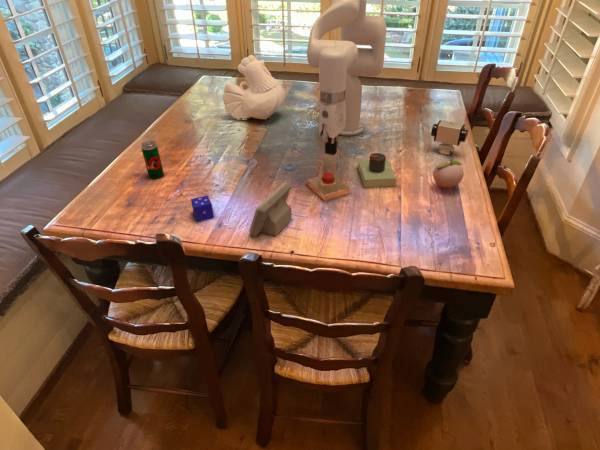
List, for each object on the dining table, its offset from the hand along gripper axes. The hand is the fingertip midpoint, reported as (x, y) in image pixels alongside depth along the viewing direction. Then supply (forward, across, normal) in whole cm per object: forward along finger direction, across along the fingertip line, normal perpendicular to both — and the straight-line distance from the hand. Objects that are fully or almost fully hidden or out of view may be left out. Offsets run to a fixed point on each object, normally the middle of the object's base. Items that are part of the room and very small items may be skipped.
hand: (330, 153), depth 133 cm
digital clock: (+12, -26, +7) cm, 29 cm away
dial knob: (+9, +13, -11) cm, 19 cm away
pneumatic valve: (+13, +40, -28) cm, 51 cm away
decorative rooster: (+13, +39, +52) cm, 66 cm away
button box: (+12, -2, 0) cm, 12 cm away
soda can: (+12, -19, +57) cm, 61 cm away
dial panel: (+12, +13, -11) cm, 21 cm away
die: (+12, -31, +28) cm, 43 cm away
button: (+9, -1, 0) cm, 9 cm away
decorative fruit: (+13, +16, -34) cm, 39 cm away
